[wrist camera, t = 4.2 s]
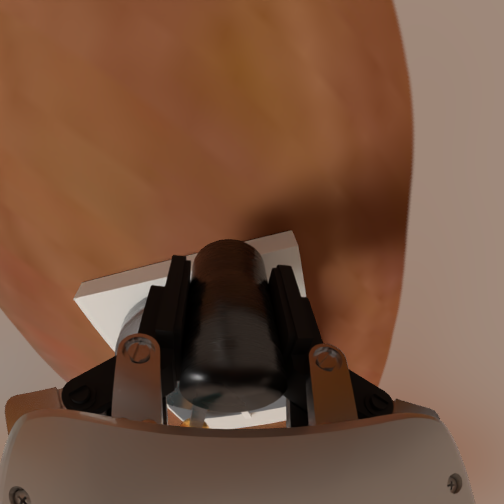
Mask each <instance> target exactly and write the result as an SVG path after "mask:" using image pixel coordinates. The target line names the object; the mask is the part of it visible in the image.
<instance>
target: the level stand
mask: <svg viewBox="0 0 504 504" xmlns="http://www.w3.org/2000/svg"><path fill="white" fill-rule="evenodd" d="M245 243H247V244H249V245H251V246H252V247H254V248H255V249H256V250H257V251H258V252H259V253H260V255H261V256H262V258H263V261H264V265H265V270H266V275H267V280H268V282H269V278H270V274H271V270H272V268H276V267H277V265H289V266H291V267H292V269H293V272H294V275H295V278H296V282H297V285H298V288H299V291H300V294H301V297H306V292H305V285H304V278H303V272H302V266H301V259H300V253H299V247H298V244H297V241H296V239H295V236H294V234H293V231H292V230H291V231H287V232H282V233H278V234H274V235H270V236H266V237H261V238H257V239H253V240H249V241H245ZM197 254H198V253H196V254H192V255H188V256H186V260H191V274H192V267H193V262H194V259H195V257H196V255H197ZM170 264H171V260H168V261H164V262H160V263H156V264H152V265H148V266H145V267H141V268H137V269H133V270H129V271H125V272H121V273H117V274H113V275H110V276H106V277H102V278H98V279H94V280H90V281H87V282H83V283H82V284H81V285H80V287H79V289H78V291H77V293H76V295H75V297H74V300H75V301H76V303H77V304H78V306H79V307H80V308H81V310H82V311H83V313H84V314H85V315H86V317H87V318H88V319H89V321H90V322H91V323H92V325H93V326H94V327H95V328H96V330H97V331H98V332H99V333H100V335H101V336H102V337H103V338H104V340H105V341H106V342H107V343H108V345H109V346H110V347H111V348H112V349H113V351H114V352H115V348H116V343H117V340H118V336H119V333H120V330H121V326H122V323H123V321H124V319H125V317H126V315H127V314H128V312H129V311H130V310H131V309H132V308H133V307H134V306H135V305H136V304H137V303H138V302H140V301H141V300H142V299H144V298H146V297H148V293H149V290H150V287H151V285H156V286H165V284H166V280H167V276H168V272H169V268H170ZM190 281H191V275H190ZM167 407H168V408H169V409H170V410H171V411H172V412H173V413H174V414H175V415H176V416H177V417H178V418H179V419H181V420H182V421H184V420H186V419H188V418H190V416H191V411H192V410H189V409H183V408H179V407H175V406H171V405H168V404H167ZM285 420H286V397H285V396H282V397H281V398H279V399H278V400H277V401H275V402H274V403H272V404H270V405H268V406H266V407H263V408H260V409H256V410H252V411H246V412H237V413H225V412H216V411H207V414H206V417H205V420H204V421H205V422H206V423H207V424H208V426H209V428H212V429H235V428H243V427H250V426H257V425H263V424H269V423H275V422H280V421H285Z"/></svg>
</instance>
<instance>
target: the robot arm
mask: <svg viewBox="0 0 504 504" xmlns="http://www.w3.org/2000/svg"><path fill="white" fill-rule="evenodd" d="M190 275H191V260H186V256H177V255H173V256H172V260H171V264H170V268H169V272H168V276H167V280H166V284H165V286H156V285H151V287H150V290H149V293H148V297H147V300H146V304H145V307H144V311H143V315H142V318H141V322H140V326H139V330H138V334H132V335H129V336H127V337H125V338H124V339H123V340H122V341H121V342H120V343H119V346H118V350H117V355H116V356H114V357H113V358H111V359H109V360H107V361H105V362H103V363H102V364H100V365H98V366H96V367H94V368H92V369H90V370H89V371H87V372H85V373H83V374H81V375H79V376H77V377H75V378H74V379H72V380H70V381H69V382H67V383H66V385H65V386H64V387H63V388H62V389H58V390H57V388H56V387H54V388H50V389H45V390H40V391H35V392H31V393H26V394H20V395H16V396H13V397H11V398H10V399H9V400H8V401H7V403H6V405H5V417H6V424H7V430H8V439H7V442H6V444H5V448H4V451H3V455H2V459H1V463H0V504H475V500H474V496H473V493H472V489H471V485H470V482H469V479H468V475H467V472H466V469H465V466H464V463H463V460H462V458H461V455H460V452H459V450H458V447H457V445H456V443H455V441H454V439H453V437H452V435H451V433H450V431H449V430H448V428H447V427H446V426H445V424H444V423H443V422H442V421H440V418H439V416H438V414H437V413H436V412H435V411H434V410H432V409H430V408H426V407H422V406H419V405H415V404H412V403H409V402H405V401H401V400H399V399H395V401H393V400H392V399H391V397H390V396H389V395H388V394H387V393H386V392H385V391H383V390H381V389H380V388H378V387H377V386H375V385H373V384H372V383H370V382H368V381H367V380H365V379H364V378H362V377H360V376H359V375H357V374H355V373H354V372H352V371H351V370H349V369H348V365H347V360H346V357H345V355H344V354H343V352H342V351H341V350H340V349H338V348H337V347H335V346H333V345H330V344H323V342H322V339H321V336H320V332H319V329H318V326H317V323H316V320H315V317H314V314H313V311H312V308H311V305H310V302H309V300H308V298H307V297H301V294H300V291H299V288H298V285H297V282H296V278H295V275H294V272H293V269H292V267H291V266H289V265H277V267H276V268H272V270H271V274H270V278H269V282H268V285H269V290H270V295H271V300H272V306H273V311H274V316H275V321H276V326H277V331H278V336H279V341H280V347H281V352H282V357H283V362H284V368H285V373H286V378H287V390H286V391H285V393H284V394H283V396H285V397H286V427H287V428H274V429H212V428H194V427H181V426H171V425H168V415H167V395H168V394H170V393H171V392H173V391H174V390H175V388H177V381H180V370H181V359H182V349H183V339H184V330H185V321H186V312H187V304H188V296H189V289H190Z"/></svg>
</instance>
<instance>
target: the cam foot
mask: <svg viewBox="0 0 504 504" xmlns="http://www.w3.org/2000/svg"><path fill="white" fill-rule="evenodd" d="M146 300H147V297H146V298H144V299H142V300H141V301H140V302H138V303H137V304H136V305H135V306H134V307H133V308H132V309H131V310H130V311H129V312H128V314H127V315H126V317H125V319H124V321H123V323H122V326H121V330H120V333H119V336H118V340H117V343H116V348H115V356H116V355H117V350H118V346H119V343H120V342H121V341H122V340H123V339H124V338H125V337H127V336H129V335H132V334H138V330H139V326H140V322H141V318H142V315H143V311H144V307H145V304H146ZM286 390H287V378H286V373H285V368H284V362H283V357H282V352H281V347H280V341H279V336H278V331H277V326H276V321H275V316H274V311H273V306H272V300H271V295H270V290H269V285H268V280H267V275H266V270H265V265H264V261H263V258H262V256H261V255H260V253H259V252H258V251H257V250H256V249H255V248H254V247H252V246H251V245H249V244H247V243H245V242H242V241H239V240H232V239H225V240H219V241H215V242H213V243H210V244H208V245H207V246H205V247H204V248H203V249H201V250H200V251H199V253H198V254H197V255H196V257H195V259H194V262H193V267H192V274H191V281H190V289H189V296H188V304H187V312H186V321H185V330H184V339H183V349H182V359H181V370H180V381H177V388H175V390H174V391H173V392H171V393H170V394H168V395H167V404H168V405H171V406H175V407H179V408H183V409H189V410H192V411H191V416H190V418H188V419H186V420H184V421H183V422H182V423H181V425H180V426H181V427H194V428H209V426H208V424H207V423H206V422H205V421H204V420H205V417H206V414H207V411H216V412H225V413H237V412H246V411H252V410H256V409H260V408H263V407H266V406H268V405H270V404H272V403H274V402H275V401H277V400H278V399H279V398H281V397H282V396H283V394H284V393H285V391H286Z"/></svg>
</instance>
